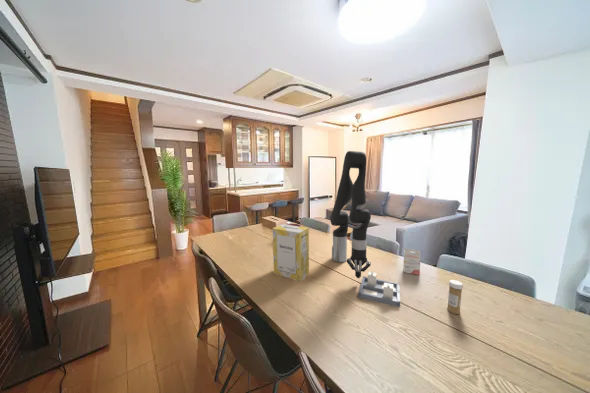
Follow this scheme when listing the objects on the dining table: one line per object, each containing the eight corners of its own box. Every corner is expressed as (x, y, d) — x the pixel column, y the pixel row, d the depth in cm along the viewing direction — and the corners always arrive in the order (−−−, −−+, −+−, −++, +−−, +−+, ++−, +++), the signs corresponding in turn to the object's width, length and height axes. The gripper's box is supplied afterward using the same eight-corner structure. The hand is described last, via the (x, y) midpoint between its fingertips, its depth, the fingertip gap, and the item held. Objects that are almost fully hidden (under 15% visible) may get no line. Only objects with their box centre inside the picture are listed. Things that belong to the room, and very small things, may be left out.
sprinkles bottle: (462, 313, 90) (465, 284, 89) (454, 315, 89) (456, 285, 88) (452, 306, 95) (455, 278, 93) (444, 308, 94) (446, 280, 92)
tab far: (367, 284, 111) (367, 274, 110) (368, 281, 114) (368, 270, 113) (375, 286, 109) (376, 275, 108) (376, 282, 113) (376, 272, 112)
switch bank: (358, 297, 102) (358, 292, 102) (362, 280, 118) (363, 276, 117) (399, 307, 95) (400, 302, 95) (398, 287, 110) (399, 283, 110)
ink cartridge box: (419, 271, 127) (420, 247, 125) (419, 275, 123) (421, 250, 121) (403, 268, 131) (404, 245, 129) (403, 272, 127) (404, 248, 124)
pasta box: (273, 273, 127) (272, 228, 123) (283, 266, 136) (282, 224, 132) (300, 281, 118) (299, 232, 114) (308, 273, 127) (308, 227, 123)
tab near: (383, 297, 100) (383, 285, 99) (383, 293, 103) (384, 281, 102) (392, 299, 98) (393, 287, 97) (392, 295, 102) (393, 283, 101)
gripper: (344, 247, 111) (344, 278, 114) (371, 251, 106) (370, 283, 108) (347, 242, 118) (347, 272, 120) (372, 246, 112) (371, 276, 115)
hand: (358, 277), depth 114 cm, fingers closed
